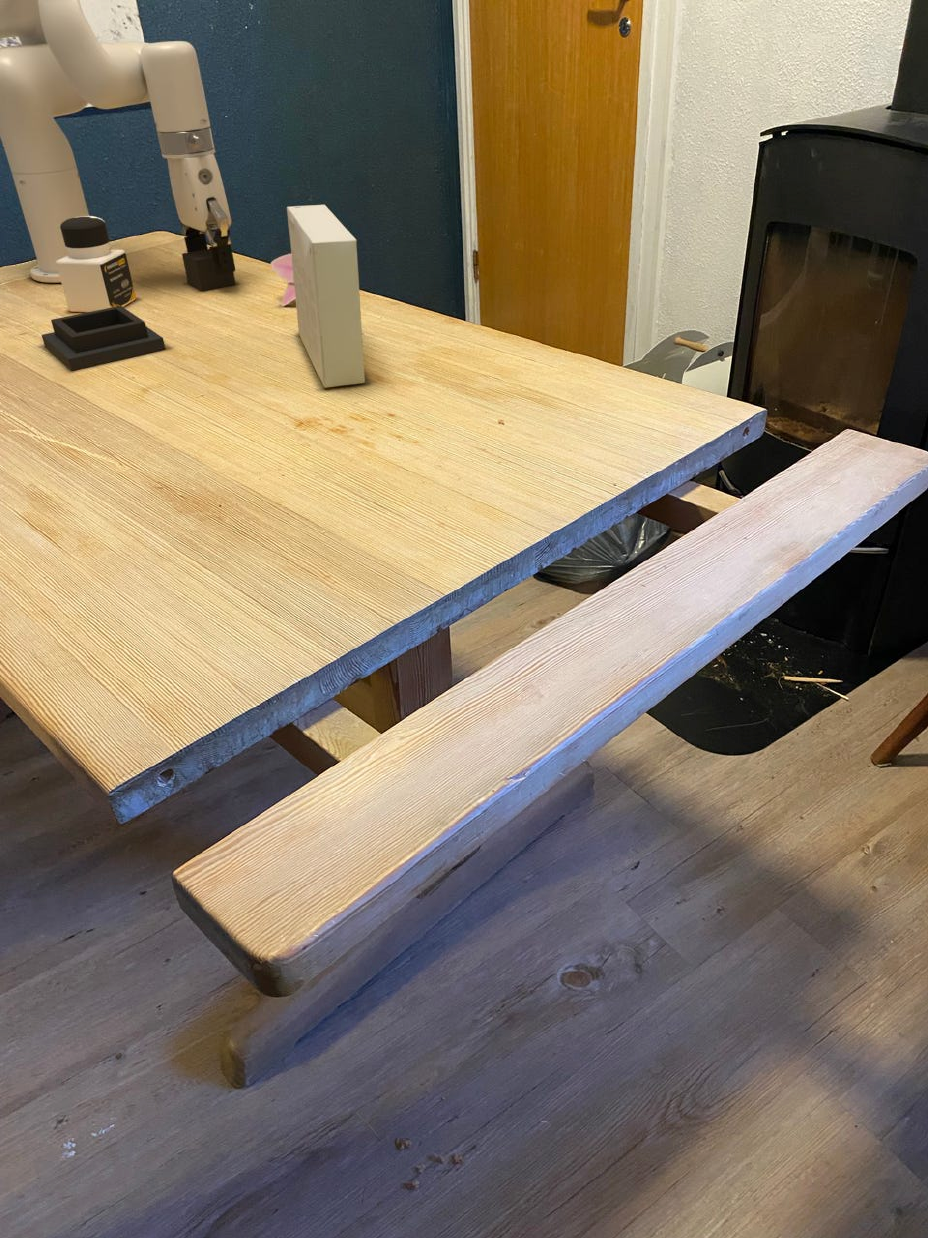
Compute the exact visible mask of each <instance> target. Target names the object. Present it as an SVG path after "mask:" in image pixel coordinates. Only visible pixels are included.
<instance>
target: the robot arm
mask: <svg viewBox="0 0 928 1238" xmlns="http://www.w3.org/2000/svg"><path fill="white" fill-rule="evenodd" d="M16 37H17V38H18V39H19V40H18V41H20V44H17V45H9V46H2V47H0V140H1V143H2V146H3V149H4V152H5V156H6V160H7V162H8V165H9V169H10V172H11V175H12V178H13V182H14V186H15V189H16V193H17V197H18V199H19V203H20V206H21V210H22V213H23V216H24V220H25V223H26V227H27V230H28V234H29V237H30V241H31V243H32V244H31V245H32V247H33V251H34V254H35V257H36V261H37V264H36V265H34V266H33V267H31V268H30V270H29V273H30V276H31V278H32V279H33V280H34V281H36V282H41V283H49V284H51V283H52V284H53V283H55V284H56V283H57V284H58V283H61V280H60V276H59V273H58V269H57V265H56V261H57V260H59V259H62V258H64V257H66V256H68V255H70V253H68V252H67V251H66V247H65V244H64V240H63V236H62V232H61V229H60V225H61V223H63V222H64V221H65V220H67V219H70V218H74V217H82V216H90V214H89V209H88V206H87V202H86V198H85V194H84V190H83V186H82V182H81V177H80V174H79V170H78V165H77V162H76V160H75V155H74V152H73V149H72V147H71V144H70V142H69V140H68V138H67V137H66V135H65V133H64V132H63V130H62V129H61V127H60V126H59V124H58V123H57V121H56V120H55V118H56V117H61V116H66V115H71V114H75V113H78V112H80V111H82V110H85V108H86V107H87V106H88V105H91V106H92V107H94V108H97V109H101V110H111V109H116V108H117V109H118V108H122V107H128V106H134V105H140V104H145V103H150V106H151V107H150V108H151V111H152V115H153V116H152V117H153V120H154V124H155V129H156V134H157V139H158V144H159V148H160V152H161V156H162V158H163V159H167V166H168V174H169V179H170V185H171V190H172V196H173V201H174V206H175V210H176V213H177V216H178V222H179V223H180V224H181V233H182V235H183V236H184V237H183V238H184V239H183V240H184V243H185V247H186V253H189V252H194V251H200V250H205V249H209V250H210V255H211V259H212V264H213V269H214V273H215V274H216V275H222V274H226V273H231V272H233V273H235V271H236V266H235V259H234V256H233V250H232V240H231V239H232V238H231V236H230V235H231V230H230V229H229V227H231V225H232V217H231V212H230V208H229V204H228V203H229V202H228V199H227V195H226V190H225V185H224V182H223V178H222V175H221V171H220V168H219V165H218V162H217V159H216V156H215V154H216V147H215V142H214V137H213V132H212V127H211V122H210V115H209V112H208V111H209V110H208V107H207V101H206V96H205V90H204V85H203V80H202V74H201V69H200V64H199V59H198V55H197V52H196V49H195V47H194V45H193V44H191V43H190V42H188V41H185V40H183V41H182V40H173V41H160V42H159V41H158V42H144V41H137V40H135V41H134V40H133V41H131V40H130V41H120V42H108V43H107V42H106V43H100V42H99V39H98V38H97V36H96V35H95V33H94V31H93V29H92V27H91V26H90V23H89V22H88V19H87V18H86V16H85V14H84V11H83V8H82V6H81V1H80V0H0V39H5V38H16ZM204 232H205V233H204ZM206 237H207V239H208V241H209V244H210V245H211V246H209V247H208V243H207V239H206ZM61 284H62V283H61Z"/></svg>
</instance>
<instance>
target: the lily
mask: <svg viewBox="0 0 928 1238" xmlns="http://www.w3.org/2000/svg"><path fill="white" fill-rule="evenodd" d="M269 266H270V268H271V269H272V271H273V272H274V273H275V274H276V275H277V276H278V277H280V278H281V279H282V280H283V281H286V282H288V283H287V285H286V288H285V290H284V293H283V296H282V299H281V307H285V306H286V305H288V304H290V303H291V302H293V301H294V300H296V295H295V289H294V280H293V268H292V254H291V253H288V254H287V253H286V254H285V255H281V256H279V257H277V258H275V259H274V260H272V261H271V262H270V264H269Z"/></svg>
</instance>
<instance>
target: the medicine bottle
mask: <svg viewBox="0 0 928 1238" xmlns="http://www.w3.org/2000/svg"><path fill="white" fill-rule="evenodd" d="M60 229H61V232H62V236H63V240H64V244H65V247H66V251H67V252H68V253H70V255H68V256H66V257H64V258H62V259H59V260H57V261H56V265H57V269H58V273H59V276H60V280H61V286H62V290H63V294H64V297H65V301H66V305H67V308H68V311H70V312H71V313H72V312H73V313H87V312H92V311H97V310H102V309H107V308H112V307H117V306H122V307H123V308H125V307H126V306H127V305H129V304H130V303H132V302H134V301H135V300H136V299H137V296H136V292H135V287H134V283H133V278H132V274H131V270H130V265H129V262H128V257H127V254H126V251H125V250H124V249H110V248H111V247H112V246H111V240H110V237H109V233H108V228H107V225H106V221H105V220H103V218H100V217H99V216H98V217H97V216H93V215H89V216H82V217H74V218H70V219H67V220H65V221H64V222H63V223H61V225H60Z"/></svg>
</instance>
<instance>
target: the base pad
mask: <svg viewBox="0 0 928 1238" xmlns="http://www.w3.org/2000/svg"><path fill="white" fill-rule="evenodd" d="M50 322H51V326H52V329H53V332H47V333H43V334H41V338H42V342H43V345H44V347H45V348H46V349H47V350H49V351H50V352H51V353H52V354H53V355H54V357H56V358H57V359H58V360H60V361H61V362H62V363H63V364H64V365H65V366H66V367H67V368H68V369H69V370H70V371H72V372H73V371H77V370H81V369H87V368H90V367H94V366H95V367H96V366H99V365H103V364H108V363H112V362H116V361H119V360H120V361H121V360H124V359H130V358H133V357H137V356H142V355H147V354H150V353H154V352H155V353H156V352H159V351H163V350H166V345H165V341H164V337H163V336H161V335H160V334H158V333H157V332H155V331H154V330H152V329H151V328H149V327H148V326H147V325H146V321H144V320H143V319H142V318H140V317H138V316H137V315H135V314H134V313H132V312H131V311H130V310H128V309H127V308H125V307H122V306H117V307H112V308H107V309H102V310H97V311H92V312H81V313H78V314H77V313H76V314H72V315H68V316H62V317H58V318H53V319H50Z"/></svg>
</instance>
